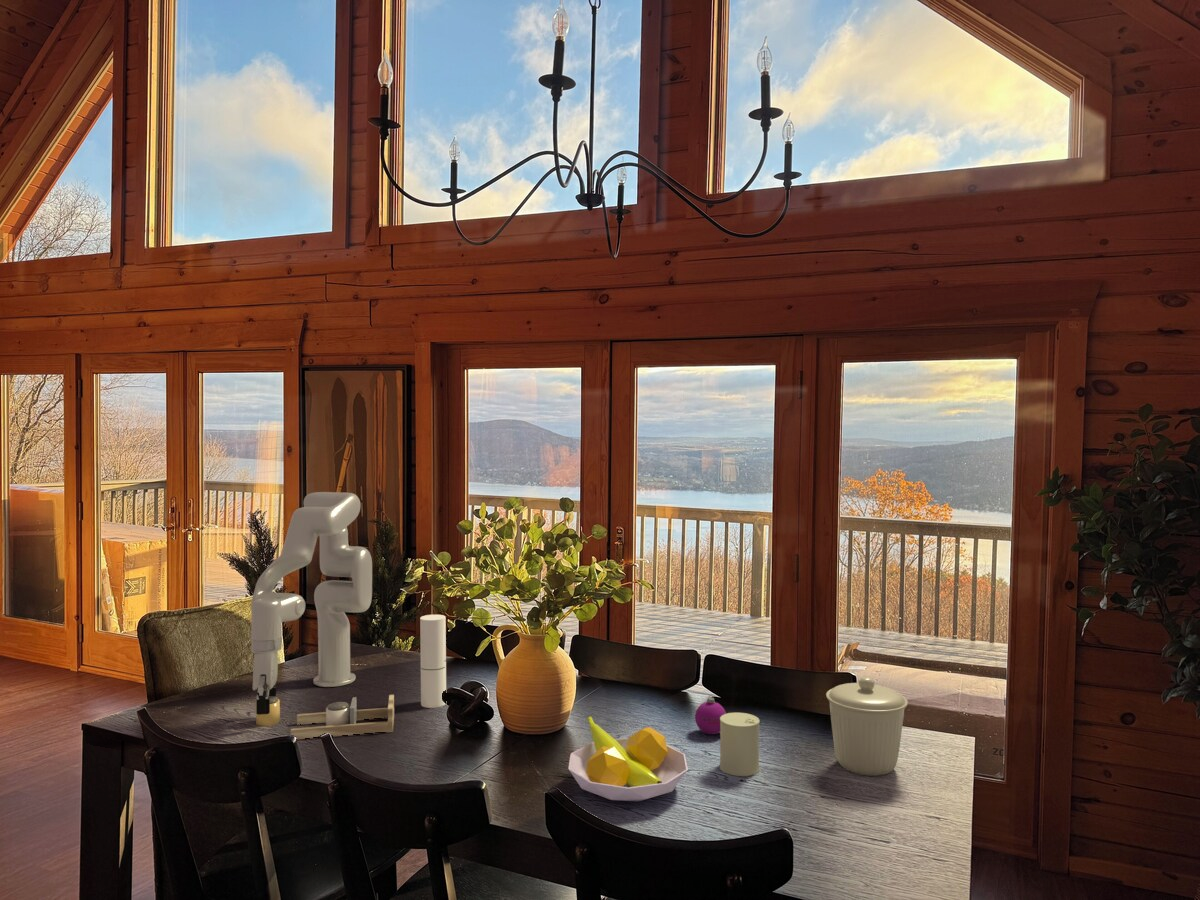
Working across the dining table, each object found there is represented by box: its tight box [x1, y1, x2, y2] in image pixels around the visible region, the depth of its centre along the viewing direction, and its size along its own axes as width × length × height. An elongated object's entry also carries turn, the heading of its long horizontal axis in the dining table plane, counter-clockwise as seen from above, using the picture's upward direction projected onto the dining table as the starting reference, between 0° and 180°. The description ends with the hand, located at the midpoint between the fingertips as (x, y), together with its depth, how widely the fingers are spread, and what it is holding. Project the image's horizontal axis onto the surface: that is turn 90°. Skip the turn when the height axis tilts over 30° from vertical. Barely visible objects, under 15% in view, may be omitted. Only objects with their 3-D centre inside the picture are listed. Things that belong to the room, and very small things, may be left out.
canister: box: [825, 676, 909, 777], centre depth 191 cm, size 18×18×21 cm
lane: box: [290, 694, 395, 740], centre depth 217 cm, size 12×25×6 cm, turn 102°
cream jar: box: [325, 701, 351, 726], centre depth 217 cm, size 6×6×6 cm
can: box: [719, 712, 761, 777], centre depth 191 cm, size 9×9×12 cm
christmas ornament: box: [694, 694, 727, 735], centre depth 213 cm, size 8×8×10 cm
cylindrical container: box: [419, 614, 447, 709], centre depth 235 cm, size 7×7×25 cm
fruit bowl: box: [568, 716, 689, 802], centre depth 182 cm, size 28×27×11 cm
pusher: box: [350, 696, 358, 724], centre depth 217 cm, size 9×1×6 cm, turn 12°
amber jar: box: [255, 696, 281, 727], centre depth 221 cm, size 6×6×6 cm
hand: (266, 708), depth 221 cm, fingers open, 9 cm apart
